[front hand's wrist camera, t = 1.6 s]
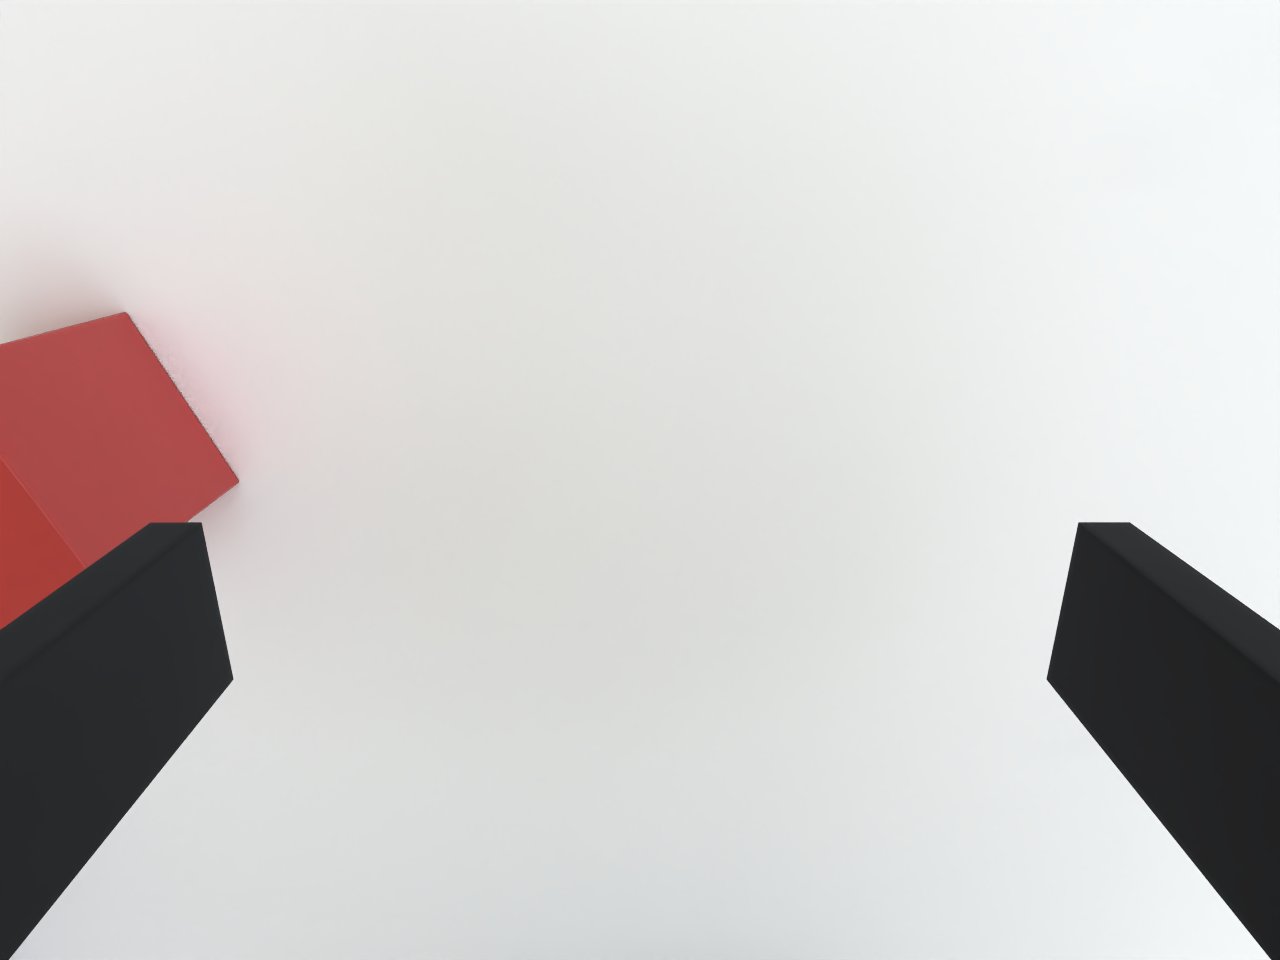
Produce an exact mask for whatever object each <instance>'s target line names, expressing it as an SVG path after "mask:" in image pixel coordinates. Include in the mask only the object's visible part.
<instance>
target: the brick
mask: <svg viewBox="0 0 1280 960" xmlns="http://www.w3.org/2000/svg"><path fill="white" fill-rule="evenodd" d="M238 482H239V480H238V479H237V477H236V476H235V474H234V473H233V471H232V470H231V469H230V467H229V466H228V464H227V463H226V461H225V460H224V458H223V457H222V455H221V454H220V452H219V451H218V449H217V448H216V446H215V445H214V443H213V442H212V440H211V439H210V437H209V436H208V434H207V433H206V431H205V430H204V428H203V427H202V425H201V424H200V422H199V421H198V419H197V418H196V416H195V415H194V413H193V412H192V410H191V409H190V407H189V406H188V404H187V403H186V401H185V400H184V398H183V397H182V395H181V394H180V392H179V391H178V389H177V388H176V386H175V385H174V383H173V382H172V380H171V379H170V377H169V376H168V374H167V373H166V371H165V370H164V368H163V367H162V365H161V364H160V362H159V361H158V359H157V358H156V356H155V355H154V353H153V352H152V350H151V349H150V347H149V346H148V344H147V343H146V341H145V340H144V338H143V337H142V335H141V334H140V332H139V331H138V329H137V328H136V326H135V325H134V323H133V322H132V320H131V319H130V317H129V316H128V315H127V313H126V312H123V313H119V314H116V315H112V316H108V317H104V318H100V319H96V320H92V321H89V322H85V323H81V324H77V325H73V326H69V327H65V328H62V329H58V330H54V331H50V332H46V333H42V334H38V335H35V336H31V337H27V338H23V339H19V340H15V341H11V342H8V343H4V344H0V630H1V629H2V628H4V627H5V626H6V625H8V624H9V623H11V622H12V621H13V620H15V619H16V618H18V617H19V616H20V615H22V614H23V613H25V612H26V611H27V610H29V609H30V608H32V607H33V606H34V605H36V604H37V603H38V602H40V601H41V600H43V599H44V598H45V597H47V596H48V595H50V594H51V593H52V592H54V591H55V590H57V589H58V588H59V587H61V586H62V585H64V584H65V583H66V582H68V581H69V580H71V579H72V578H73V577H75V576H76V575H78V574H79V573H80V572H82V571H83V570H85V569H86V568H87V567H89V566H90V565H92V564H93V563H94V562H96V561H97V560H99V559H100V558H101V557H103V556H104V555H106V554H107V553H108V552H110V551H111V550H113V549H114V548H115V547H117V546H118V545H120V544H121V543H122V542H124V541H125V540H127V539H128V538H129V537H131V536H132V535H134V534H135V533H136V532H138V531H139V530H141V529H142V528H143V527H145V526H146V525H147V524H149V523H150V522H187V521H189V520H190V519H191V518H193V517H194V516H195V515H197V514H198V513H199V512H200V511H202V510H203V509H204V508H206V507H207V506H208V505H210V504H211V503H212V502H214V501H215V500H216V499H218V498H219V497H220V496H222V495H223V494H224V493H226V492H227V491H228V490H230V489H231V488H232V487H233V486H235V485H236V484H237V483H238Z"/></svg>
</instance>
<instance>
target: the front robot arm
mask: <svg viewBox="0 0 1280 960" xmlns="http://www.w3.org/2000/svg"><path fill="white" fill-rule="evenodd" d="M232 680H233V675H232V670H231V665H230V660H229V655H228V650H227V645H226V641H225V636H224V631H223V626H222V621H221V616H220V611H219V606H218V601H217V596H216V591H215V586H214V582H213V577H212V572H211V567H210V562H209V557H208V552H207V547H206V542H205V537H204V532H203V527H202V523H201V522H150V523H149V524H147V525H146V526H145V527H143V528H142V529H141V530H139V531H138V532H136V533H135V534H134V535H132V536H131V537H129V538H128V539H127V540H125V541H124V542H122V543H121V544H120V545H118V546H117V547H115V548H114V549H113V550H111V551H110V552H108V553H107V554H106V555H104V556H103V557H101V558H100V559H99V560H97V561H96V562H94V563H93V564H92V565H90V566H89V567H87V568H86V569H85V570H83V571H82V572H80V573H79V574H78V575H76V576H75V577H73V578H72V579H71V580H69V581H68V582H66V583H65V584H64V585H62V586H61V587H59V588H58V589H57V590H55V591H54V592H52V593H51V594H50V595H48V596H47V597H45V598H44V599H43V600H41V601H40V602H38V603H37V604H36V605H34V606H33V607H32V608H30V609H29V610H27V611H26V612H25V613H23V614H22V615H20V616H19V617H18V618H16V619H15V620H13V621H12V622H11V623H9V624H8V625H6V626H5V627H4V628H2V629H1V630H0V960H9V959H10V957H11V956H12V955H13V954H14V952H15V951H16V950H17V949H18V948H19V946H20V945H21V944H22V943H23V941H24V940H25V939H26V938H27V936H28V935H29V934H30V933H31V931H32V930H33V929H34V928H35V926H36V925H37V924H38V923H39V921H40V920H41V919H42V918H43V916H44V915H45V914H46V913H47V911H48V910H49V909H50V908H51V906H52V905H53V904H54V903H55V901H56V900H57V899H58V898H59V896H60V895H61V894H62V893H63V891H64V890H65V889H66V888H67V886H68V885H69V884H70V883H71V881H72V880H73V879H74V878H75V876H76V875H77V874H78V873H79V871H80V870H81V869H82V868H83V866H84V865H85V864H86V863H87V861H88V860H89V859H90V858H91V856H92V855H93V854H94V853H95V851H96V850H97V849H98V848H99V846H100V845H101V844H102V843H103V841H104V840H105V839H106V838H107V836H108V835H109V834H110V833H111V831H112V830H113V829H114V828H115V826H116V825H117V824H118V823H119V821H120V820H121V819H122V818H123V816H124V815H125V814H126V813H127V812H128V810H129V809H130V808H131V807H132V805H133V804H134V803H135V802H136V800H137V799H138V798H139V797H140V795H141V794H142V793H143V792H144V790H145V789H146V788H147V787H148V785H149V784H150V783H151V782H152V780H153V779H154V778H155V777H156V775H157V774H158V773H159V772H160V770H161V769H162V768H163V767H164V765H165V764H166V763H167V762H168V760H169V759H170V758H171V757H172V755H173V754H174V753H175V752H176V750H177V749H178V748H179V747H180V745H181V744H182V743H183V742H184V740H185V739H186V738H187V737H188V735H189V734H190V733H191V732H192V730H193V729H194V728H195V727H196V725H197V724H198V723H199V722H200V720H201V719H202V718H203V717H204V715H205V714H206V713H207V712H208V710H209V709H210V708H211V707H212V705H213V704H214V703H215V702H216V700H217V699H218V698H219V697H220V695H221V694H222V693H223V692H224V690H225V689H226V688H227V687H228V685H229V684H230V683H231V682H232ZM1047 680H1048V682H1049V683H1050V684H1051V685H1052V687H1053V688H1054V689H1055V690H1056V692H1057V693H1058V694H1059V695H1060V697H1061V698H1062V699H1063V700H1064V702H1065V703H1066V704H1067V705H1068V707H1069V708H1070V709H1071V710H1072V712H1073V713H1074V714H1075V715H1076V717H1077V718H1078V719H1079V720H1080V722H1081V723H1082V724H1083V725H1084V727H1085V728H1086V729H1087V730H1088V732H1089V733H1090V734H1091V735H1092V737H1093V738H1094V739H1095V740H1096V742H1097V743H1098V744H1099V745H1100V747H1101V748H1102V749H1103V750H1104V752H1105V753H1106V754H1107V755H1108V757H1109V758H1110V759H1111V760H1112V762H1113V763H1114V764H1115V765H1116V767H1117V768H1118V769H1119V770H1120V772H1121V773H1122V774H1123V775H1124V777H1125V778H1126V779H1127V780H1128V782H1129V783H1130V784H1131V785H1132V787H1133V788H1134V789H1135V790H1136V792H1137V793H1138V794H1139V795H1140V797H1141V798H1142V799H1143V800H1144V802H1145V803H1146V804H1147V805H1148V807H1149V808H1150V809H1151V810H1152V812H1153V813H1154V814H1155V815H1156V816H1157V818H1158V819H1159V820H1160V821H1161V823H1162V824H1163V825H1164V826H1165V828H1166V829H1167V830H1168V831H1169V833H1170V834H1171V835H1172V836H1173V838H1174V839H1175V840H1176V841H1177V843H1178V844H1179V845H1180V846H1181V848H1182V849H1183V850H1184V851H1185V853H1186V854H1187V855H1188V856H1189V858H1190V859H1191V860H1192V861H1193V863H1194V864H1195V865H1196V866H1197V868H1198V869H1199V870H1200V871H1201V873H1202V874H1203V875H1204V876H1205V878H1206V879H1207V880H1208V881H1209V883H1210V884H1211V885H1212V886H1213V888H1214V889H1215V890H1216V891H1217V893H1218V894H1219V895H1220V896H1221V898H1222V899H1223V900H1224V901H1225V903H1226V904H1227V905H1228V906H1229V908H1230V909H1231V910H1232V911H1233V913H1234V914H1235V915H1236V916H1237V918H1238V919H1239V920H1240V921H1241V923H1242V924H1243V925H1244V926H1245V928H1246V929H1247V930H1248V931H1249V933H1250V934H1251V935H1252V936H1253V938H1254V939H1255V940H1256V941H1257V943H1258V944H1259V945H1260V946H1261V948H1262V949H1263V950H1264V951H1265V952H1266V954H1267V955H1268V956H1269V957H1270V959H1271V960H1280V630H1279V629H1278V628H1276V627H1275V626H1274V625H1272V624H1271V623H1269V622H1268V621H1267V620H1265V619H1264V618H1262V617H1261V616H1260V615H1258V614H1257V613H1255V612H1254V611H1253V610H1251V609H1250V608H1248V607H1247V606H1246V605H1244V604H1243V603H1242V602H1240V601H1239V600H1237V599H1236V598H1235V597H1233V596H1232V595H1230V594H1229V593H1228V592H1226V591H1225V590H1223V589H1222V588H1221V587H1219V586H1218V585H1216V584H1215V583H1214V582H1212V581H1211V580H1209V579H1208V578H1207V577H1205V576H1204V575H1202V574H1201V573H1200V572H1198V571H1197V570H1195V569H1194V568H1193V567H1191V566H1190V565H1188V564H1187V563H1186V562H1184V561H1183V560H1181V559H1180V558H1179V557H1177V556H1176V555H1174V554H1173V553H1172V552H1170V551H1169V550H1167V549H1166V548H1165V547H1163V546H1162V545H1160V544H1159V543H1158V542H1156V541H1155V540H1153V539H1152V538H1151V537H1149V536H1148V535H1146V534H1145V533H1144V532H1142V531H1141V530H1139V529H1138V528H1137V527H1135V526H1134V525H1133V524H1131V523H1130V522H1079V523H1078V527H1077V532H1076V537H1075V542H1074V547H1073V552H1072V557H1071V562H1070V567H1069V572H1068V577H1067V582H1066V586H1065V591H1064V596H1063V601H1062V606H1061V611H1060V616H1059V621H1058V626H1057V631H1056V636H1055V641H1054V645H1053V650H1052V655H1051V660H1050V665H1049V670H1048V675H1047Z"/></svg>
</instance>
